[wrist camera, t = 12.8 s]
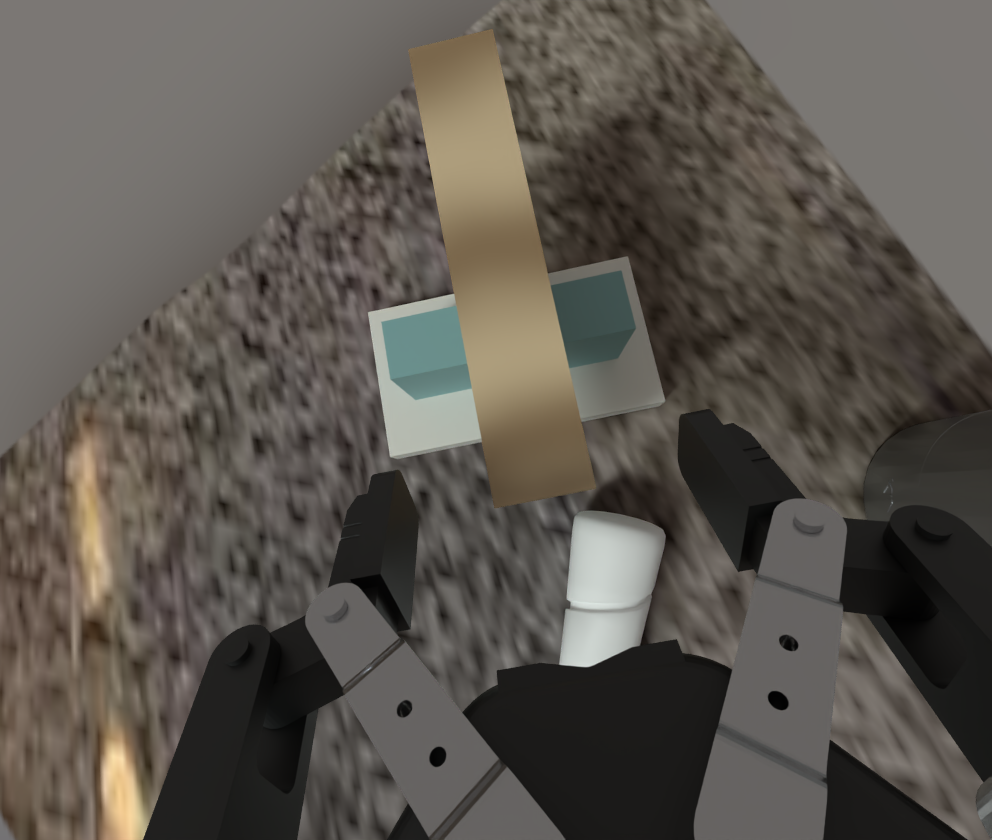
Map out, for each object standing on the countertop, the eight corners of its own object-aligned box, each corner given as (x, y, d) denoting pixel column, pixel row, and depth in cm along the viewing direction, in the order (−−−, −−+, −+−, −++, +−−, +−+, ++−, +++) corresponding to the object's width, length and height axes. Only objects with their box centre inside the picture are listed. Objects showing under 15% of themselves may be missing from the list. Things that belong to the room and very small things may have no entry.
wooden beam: (448, 193, 25) (408, 49, 17) (506, 179, 24) (492, 29, 17) (508, 504, 22) (494, 508, 14) (573, 491, 22) (596, 488, 14)
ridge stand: (623, 268, 30) (647, 205, 24) (658, 406, 28) (694, 380, 22) (376, 321, 31) (334, 274, 24) (397, 458, 29) (359, 448, 23)
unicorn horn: (472, 951, 25) (459, 1057, 20) (574, 502, 28) (582, 503, 24) (562, 984, 24) (569, 1100, 20) (655, 523, 28) (680, 528, 23)
